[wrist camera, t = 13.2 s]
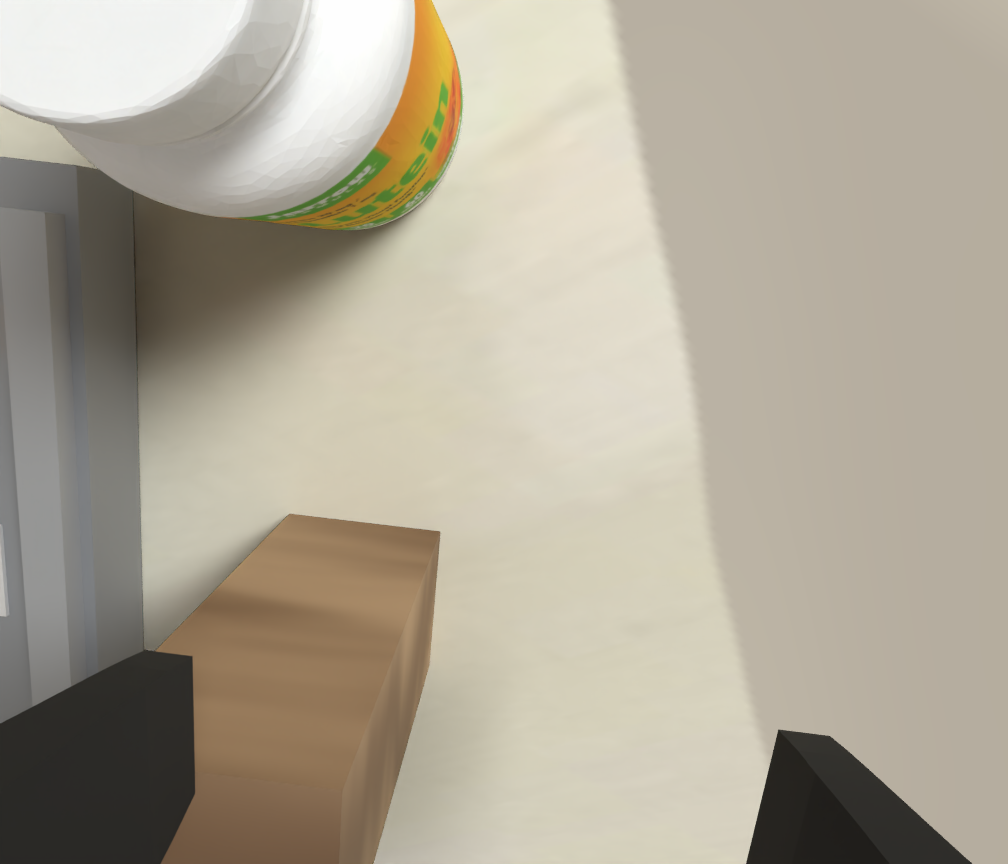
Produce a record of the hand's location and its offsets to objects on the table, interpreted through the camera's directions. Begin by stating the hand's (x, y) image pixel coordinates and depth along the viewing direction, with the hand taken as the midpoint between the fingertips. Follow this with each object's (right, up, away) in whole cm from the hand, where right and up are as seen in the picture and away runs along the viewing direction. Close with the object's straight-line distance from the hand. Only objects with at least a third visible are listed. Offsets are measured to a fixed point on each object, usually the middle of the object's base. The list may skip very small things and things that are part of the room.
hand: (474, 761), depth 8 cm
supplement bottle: (-3, +11, +7) cm, 14 cm away
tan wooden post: (-3, 0, +10) cm, 11 cm away
